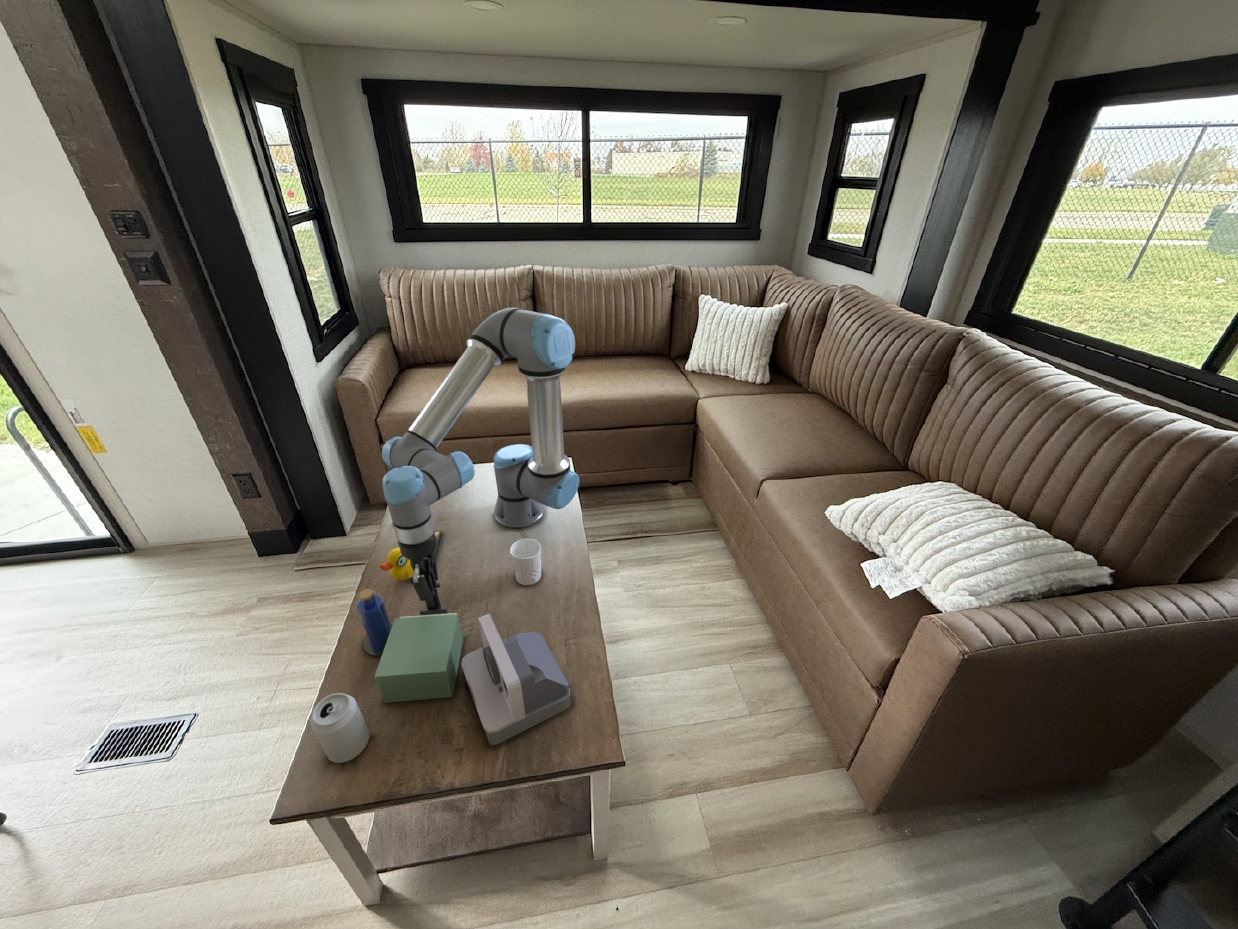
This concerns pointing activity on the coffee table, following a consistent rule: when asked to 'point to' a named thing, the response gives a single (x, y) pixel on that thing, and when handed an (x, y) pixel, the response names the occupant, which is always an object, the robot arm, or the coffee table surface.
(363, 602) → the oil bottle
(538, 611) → the coffee table surface
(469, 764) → the coffee table surface
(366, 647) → the coaster
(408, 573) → the duckling
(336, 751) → the can
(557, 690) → the grey stand
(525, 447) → the robot arm
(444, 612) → the drawer
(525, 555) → the white cup
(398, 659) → the cabinet
